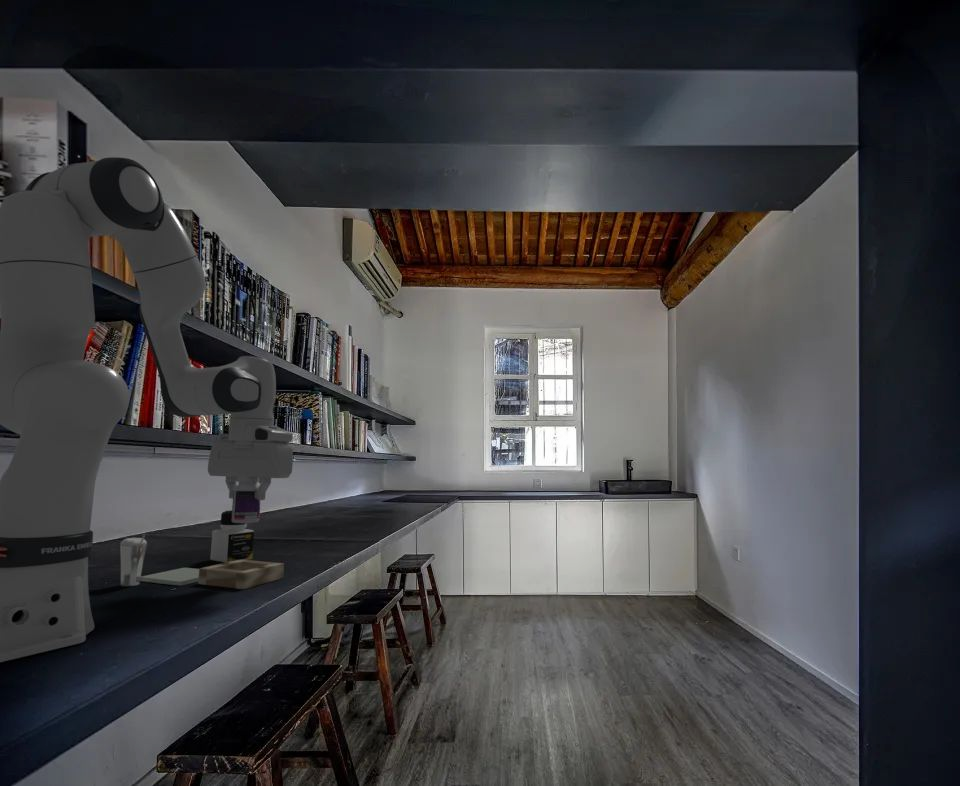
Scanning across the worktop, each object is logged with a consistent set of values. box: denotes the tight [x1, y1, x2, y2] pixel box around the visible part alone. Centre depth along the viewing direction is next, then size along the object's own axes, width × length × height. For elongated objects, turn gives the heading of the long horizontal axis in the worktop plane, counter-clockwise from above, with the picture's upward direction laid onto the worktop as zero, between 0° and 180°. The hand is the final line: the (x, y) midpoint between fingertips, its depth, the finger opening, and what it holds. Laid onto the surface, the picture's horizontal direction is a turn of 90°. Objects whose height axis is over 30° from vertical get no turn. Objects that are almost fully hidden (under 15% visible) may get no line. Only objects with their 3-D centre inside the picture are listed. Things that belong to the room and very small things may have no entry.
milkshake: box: [119, 533, 148, 587], centre depth 113 cm, size 4×5×10 cm
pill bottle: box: [231, 475, 261, 524], centre depth 119 cm, size 5×5×10 cm
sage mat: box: [140, 567, 199, 587], centre depth 119 cm, size 11×11×1 cm
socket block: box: [197, 559, 285, 590], centre depth 118 cm, size 12×12×3 cm
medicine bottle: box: [209, 509, 255, 563], centre depth 142 cm, size 7×7×12 cm
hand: (246, 499), depth 119 cm, fingers closed on pill bottle, 5 cm apart
